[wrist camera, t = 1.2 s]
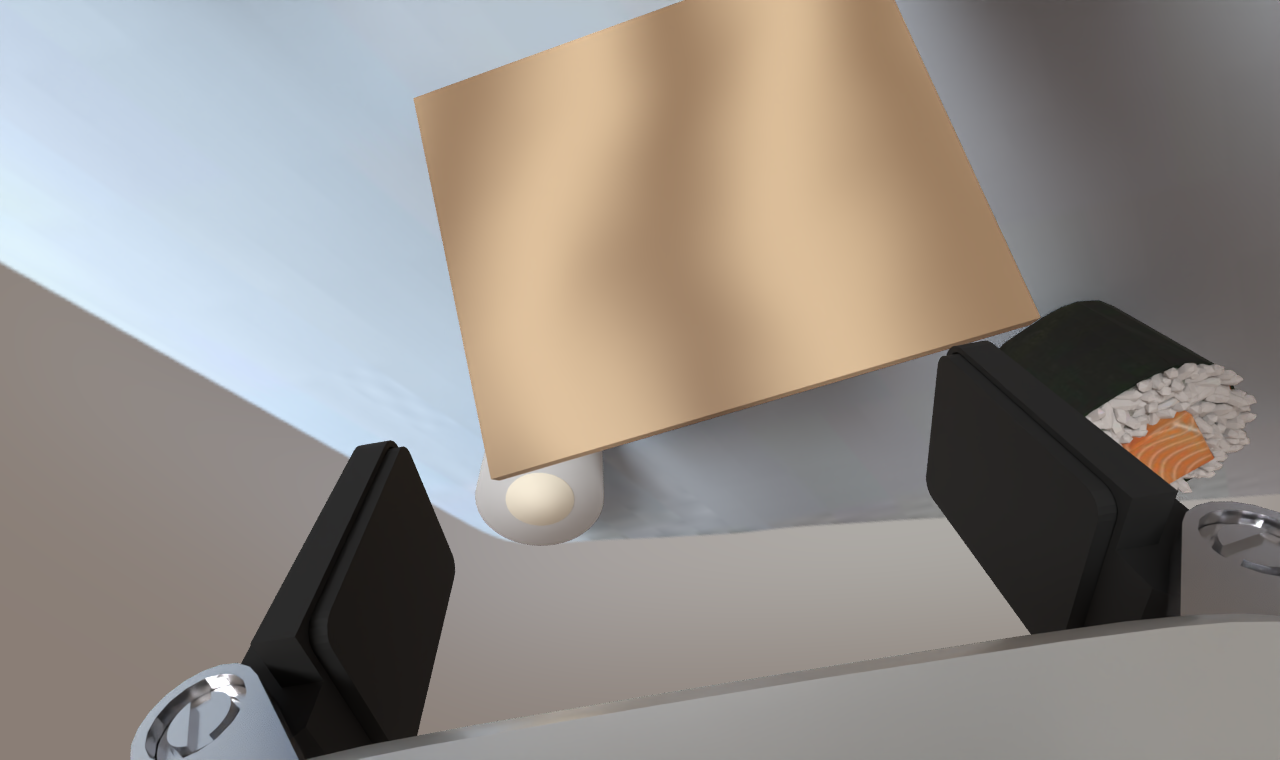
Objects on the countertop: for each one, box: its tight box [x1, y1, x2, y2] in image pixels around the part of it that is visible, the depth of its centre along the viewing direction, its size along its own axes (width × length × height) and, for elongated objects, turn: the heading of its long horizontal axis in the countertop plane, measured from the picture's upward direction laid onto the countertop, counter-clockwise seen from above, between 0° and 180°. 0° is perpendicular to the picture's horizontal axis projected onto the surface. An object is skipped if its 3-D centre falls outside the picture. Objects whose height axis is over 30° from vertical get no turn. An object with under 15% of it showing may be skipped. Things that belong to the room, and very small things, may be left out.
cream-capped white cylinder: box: [475, 451, 604, 546], centre depth 32 cm, size 6×6×6 cm
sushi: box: [999, 300, 1257, 493], centre depth 32 cm, size 8×8×8 cm
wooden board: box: [414, 0, 1041, 481], centre depth 17 cm, size 14×12×1 cm
